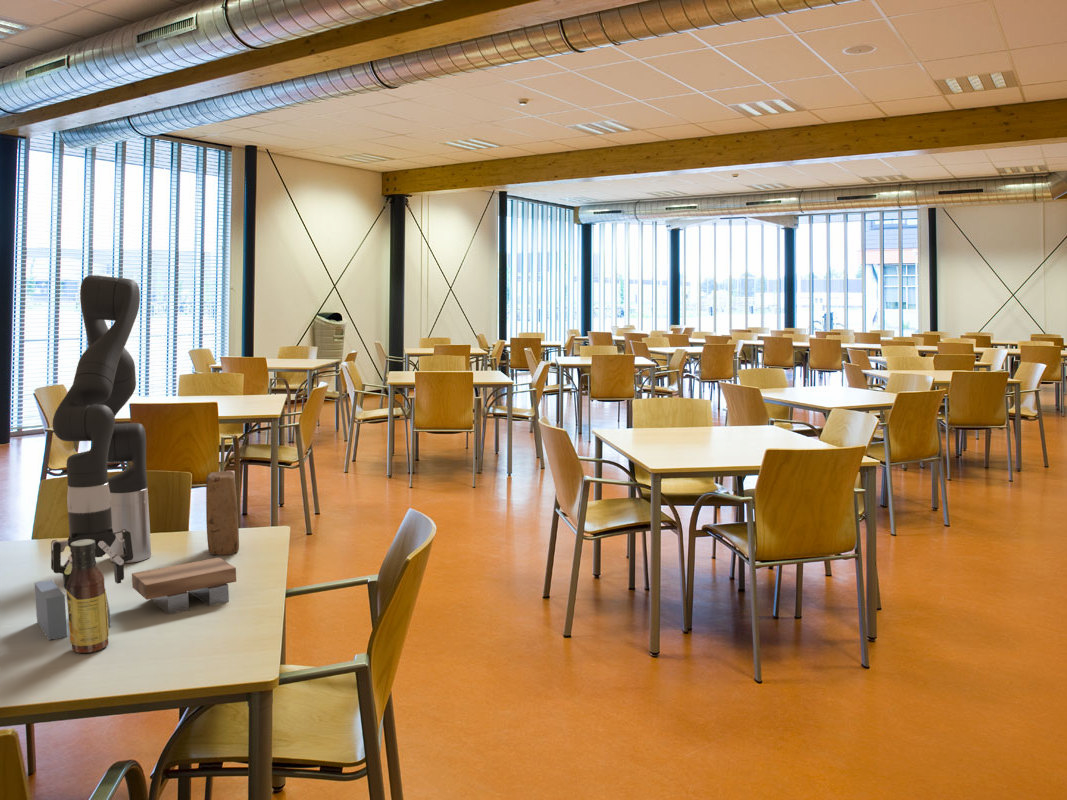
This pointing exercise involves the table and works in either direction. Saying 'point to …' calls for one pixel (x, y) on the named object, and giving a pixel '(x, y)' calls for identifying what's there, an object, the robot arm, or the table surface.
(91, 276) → the robot arm
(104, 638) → the sauce bottle
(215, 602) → the bar rear
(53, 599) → the stop block
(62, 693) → the table surface
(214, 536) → the block
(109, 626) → the bar loose
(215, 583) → the slab
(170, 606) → the bar middle
